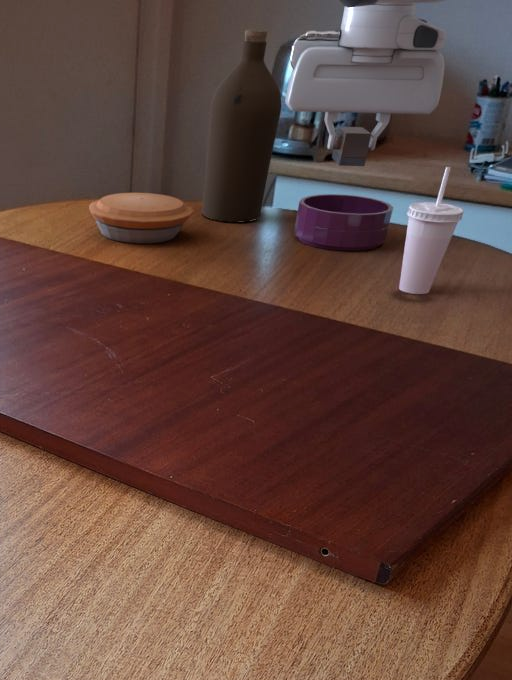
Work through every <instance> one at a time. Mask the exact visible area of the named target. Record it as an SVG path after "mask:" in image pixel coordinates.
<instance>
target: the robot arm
mask: <svg viewBox="0 0 512 680" xmlns="http://www.w3.org/2000/svg"><path fill="white" fill-rule="evenodd" d="M338 1H339V2H340V3H341V4H342V5H343V7H344V8H343V12H342V13H343V14H342V19H341V23H340V24H341V25H340V30H337V29H336V30H335V29H334V30H332V29H331V30H330V29H329V30H321V31H320V30H315V29H309V30H306V31H305V33H302V34H301V35H299V36H297V38H296V39H295V40H294V41H293V44H292V46H291V52H290V59H289V60H290V61H289V63H290V66H291V68H292V69H291V72H290V75H289V81H288V84H287V87H286V88H287V89H286V93H285V100H284V102H285V105H286V107H287V108H288V109H289V110H290V111H291V112H301V113H302V112H307V113H324V119H323V120H324V123H325V126H326V129H327V133H328V134H329V135H328V139H327V140H328V141H327V144H326V145H327V147H326V148H327V150H333V149H339V147H340V142H341V137H342V136H341V135H340V134H337V131H336V129H335V126H334V122H337V121H338V118H339V113H348V114H349V113H353V114H354V113H356V114H358V113H359V114H376V115H375V121H377V124H376V125H375V127H374V128H373V130H372V131H371V132H370V133H371V138H370V142H369V147H368V151H375V149H376V145H377V140H378V137H380V135H381V134H382V133H383V131H384V130H385V129H386V127H387V126H388V124H389V123H390V119H391V115H392V114H396V115H397V114H398V115H401V114H404V115H405V114H407V115H430V114H432V112H434V111H435V110H436V109H437V107H438V105H439V102H440V98H441V94H442V90H443V89H442V88H443V83H444V76H445V67H446V66H445V65H446V64H445V58H444V56H443V54H442V53H441V51H440V50H441V49H442V48H443V47H444V46H445V44H446V40H447V32H446V30H444V29H442V28H440V27H438V26H437V25H436V26H435V25H433V24H431V23H428V20H425V19H422V18H416V17H415V10H416V6H417V4H423V3H424V4H427V3H431V4H432V3H434V4H435V3H441V2H446V1H447V0H338Z"/></svg>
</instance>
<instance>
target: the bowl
mask: <svg viewBox="0 0 512 680" xmlns="http://www.w3.org/2000/svg"><path fill="white" fill-rule="evenodd" d="M298 202H299V203H298V207H297V212H296V218H295V224H294V229H293V230H294V231H293V234H294V235H295V237H297V239H298V240H299V242H301V243H303V244H305V245H308V246H311V247H315V248H318V249H324V250H331V251H332V250H333V251H340V252H342V251H343V252H358V251H361V252H362V251H368V250H373V249H376V248H378V247H379V246H380V245H382V244H384V243H385V241H386V239H387V236H388V233H389V227H390V223H391V219H392V215H393V211H394V206H393V205H391V203H389V202H386V201H384V200H381V199H377V198H373V197H367V196H361V195H353V194H337V193H336V194H335V193H328V194H322V193H321V194H314V195H308V196H305V197H301V198H300V200H299V201H298Z"/></svg>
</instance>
